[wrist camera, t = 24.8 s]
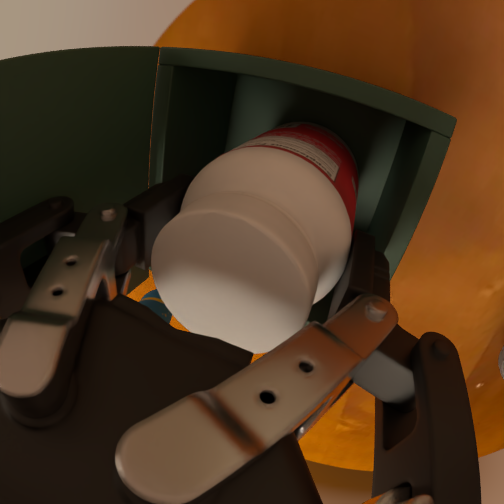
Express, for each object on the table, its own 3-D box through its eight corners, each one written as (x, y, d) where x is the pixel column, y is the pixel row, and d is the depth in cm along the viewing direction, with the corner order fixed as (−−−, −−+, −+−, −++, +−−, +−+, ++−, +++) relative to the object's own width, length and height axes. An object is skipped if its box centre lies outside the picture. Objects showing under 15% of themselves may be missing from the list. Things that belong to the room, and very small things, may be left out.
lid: (-171, 135, 1) (-148, 120, 2) (-20, 427, 7) (-66, 349, 9) (160, 46, 10) (80, 49, 12) (149, 277, 17) (84, 240, 18)
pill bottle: (325, 242, 19) (271, 395, 10) (237, 191, 19) (119, 302, 10) (380, 156, 15) (392, 272, 6) (279, 99, 16) (153, 135, 7)
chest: (422, 103, 15) (458, 118, 8) (362, 266, 21) (351, 348, 15) (234, 53, 17) (159, 46, 11) (210, 213, 23) (148, 269, 17)
